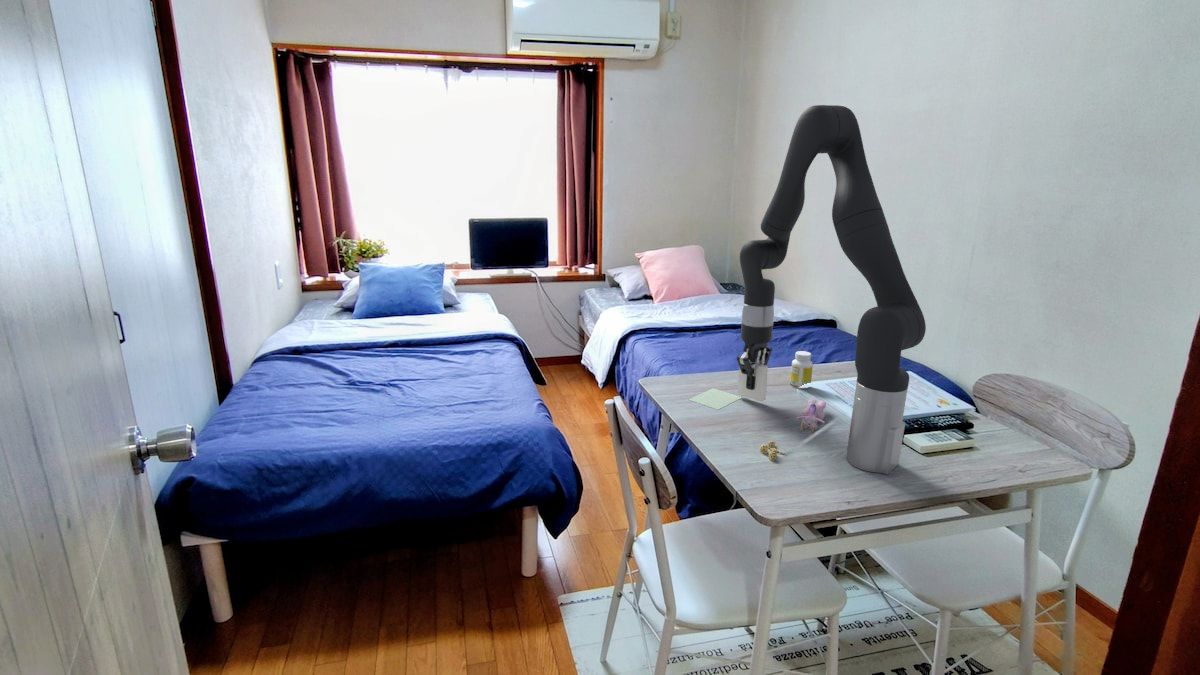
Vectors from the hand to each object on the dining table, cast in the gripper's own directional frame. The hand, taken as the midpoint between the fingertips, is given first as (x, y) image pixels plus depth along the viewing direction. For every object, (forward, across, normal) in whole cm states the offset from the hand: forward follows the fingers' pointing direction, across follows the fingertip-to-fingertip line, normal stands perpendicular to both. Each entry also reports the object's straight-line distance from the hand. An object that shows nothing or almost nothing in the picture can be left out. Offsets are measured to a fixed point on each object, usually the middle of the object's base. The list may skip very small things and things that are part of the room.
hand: (752, 387), depth 152 cm
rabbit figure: (+5, 0, -16) cm, 17 cm away
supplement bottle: (+4, +19, -4) cm, 20 cm away
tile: (+3, 0, 0) cm, 3 cm away
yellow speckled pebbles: (+5, -21, -17) cm, 27 cm away
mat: (+4, -3, +4) cm, 7 cm away
